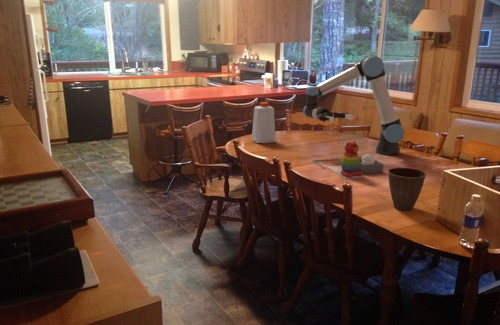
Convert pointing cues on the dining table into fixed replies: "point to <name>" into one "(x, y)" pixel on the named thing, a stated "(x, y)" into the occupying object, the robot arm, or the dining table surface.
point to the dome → (368, 159)
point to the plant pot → (405, 187)
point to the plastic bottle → (263, 124)
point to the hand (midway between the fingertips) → (343, 118)
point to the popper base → (370, 167)
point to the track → (335, 168)
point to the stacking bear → (350, 160)
